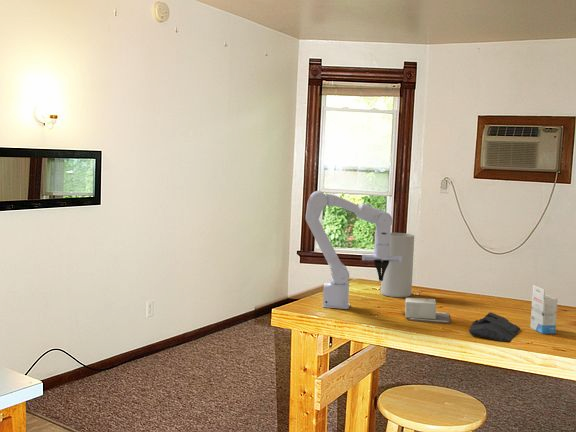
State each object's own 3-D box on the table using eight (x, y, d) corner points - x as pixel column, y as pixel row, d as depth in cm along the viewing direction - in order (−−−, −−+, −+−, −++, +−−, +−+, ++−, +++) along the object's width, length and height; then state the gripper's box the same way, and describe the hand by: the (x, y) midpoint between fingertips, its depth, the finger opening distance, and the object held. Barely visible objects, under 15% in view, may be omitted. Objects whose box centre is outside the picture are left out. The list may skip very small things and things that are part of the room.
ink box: (556, 334, 210) (559, 289, 209) (541, 334, 210) (544, 289, 208) (543, 327, 219) (546, 284, 217) (529, 327, 218) (532, 284, 217)
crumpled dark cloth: (460, 337, 205) (461, 322, 204) (475, 323, 224) (476, 309, 224) (510, 345, 197) (511, 329, 197) (521, 329, 217) (522, 315, 216)
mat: (408, 320, 222) (408, 318, 222) (409, 311, 236) (409, 309, 236) (450, 323, 219) (450, 322, 219) (448, 314, 233) (448, 312, 233)
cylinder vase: (413, 298, 259) (416, 236, 257) (382, 297, 259) (385, 235, 257) (408, 292, 271) (411, 233, 269) (378, 291, 272) (381, 232, 269)
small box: (404, 317, 224) (435, 319, 222) (405, 301, 224) (436, 303, 222) (405, 312, 232) (434, 314, 230) (405, 297, 232) (435, 299, 230)
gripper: (402, 243, 240) (401, 279, 241) (363, 241, 243) (362, 277, 244) (402, 246, 233) (400, 283, 235) (362, 244, 236) (360, 280, 237)
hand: (381, 280), depth 239 cm, fingers closed
